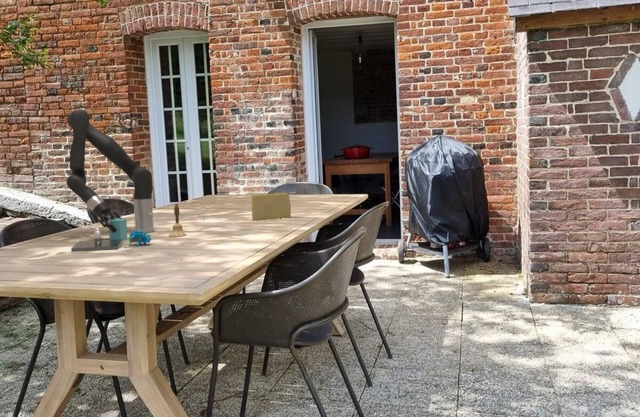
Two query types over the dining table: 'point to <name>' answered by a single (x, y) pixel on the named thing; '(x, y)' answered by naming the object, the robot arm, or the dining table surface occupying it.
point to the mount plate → (99, 246)
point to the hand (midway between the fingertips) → (120, 230)
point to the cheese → (270, 206)
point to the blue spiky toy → (139, 237)
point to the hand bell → (177, 225)
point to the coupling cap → (119, 229)
